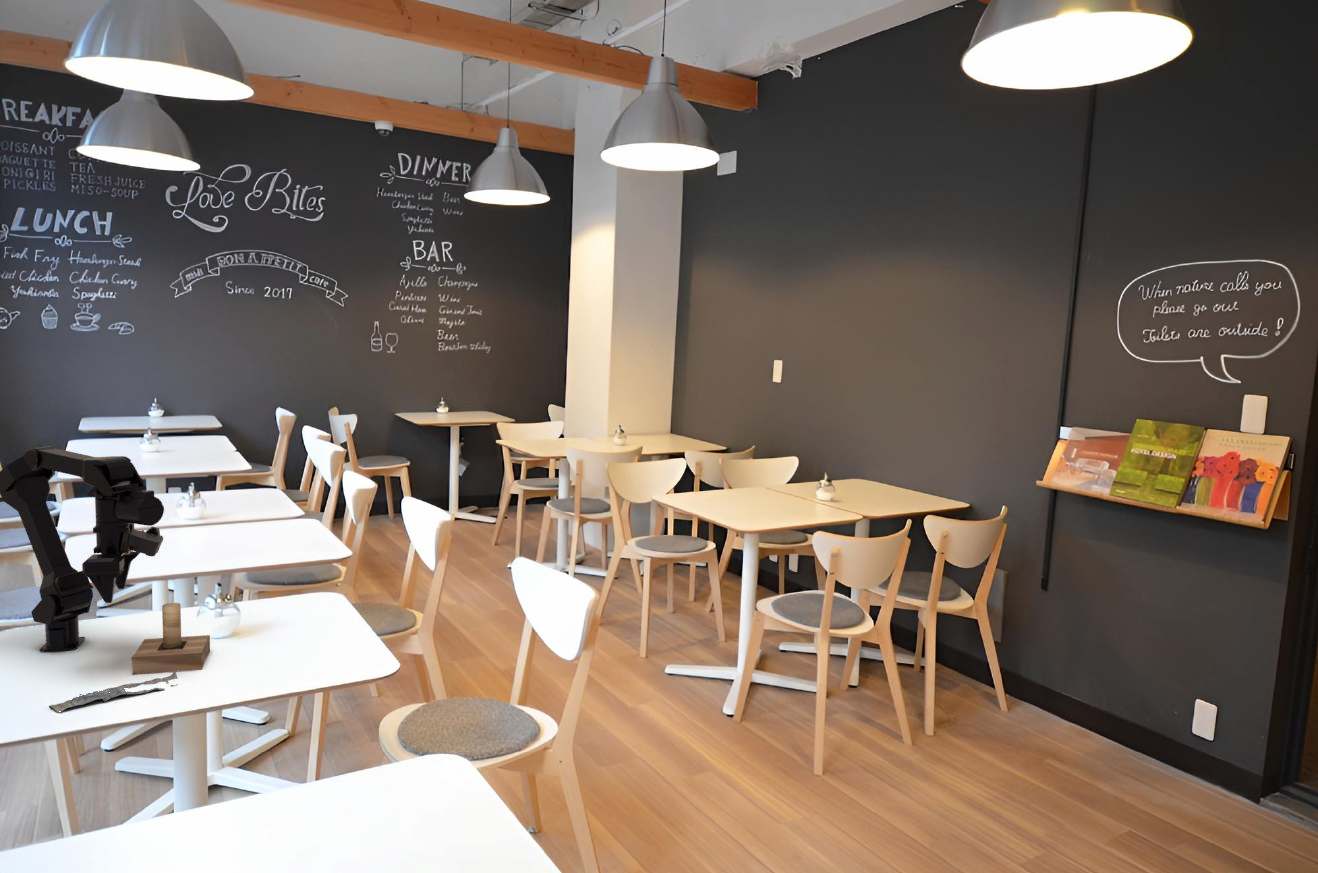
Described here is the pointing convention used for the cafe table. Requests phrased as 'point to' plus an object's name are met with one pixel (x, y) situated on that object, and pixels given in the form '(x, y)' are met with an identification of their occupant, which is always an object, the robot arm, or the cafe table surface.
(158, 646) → the board
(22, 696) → the cafe table surface
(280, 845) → the cafe table surface
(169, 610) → the peg
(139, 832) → the cafe table surface
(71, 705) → the driftwood
